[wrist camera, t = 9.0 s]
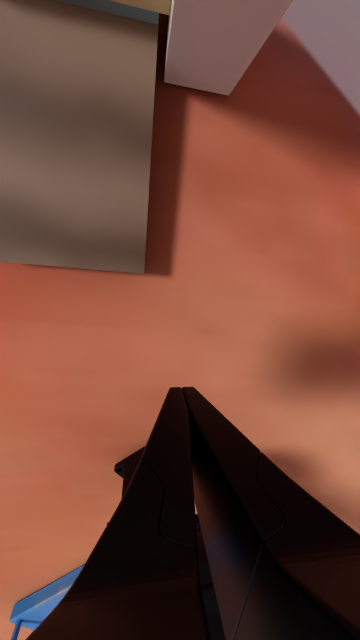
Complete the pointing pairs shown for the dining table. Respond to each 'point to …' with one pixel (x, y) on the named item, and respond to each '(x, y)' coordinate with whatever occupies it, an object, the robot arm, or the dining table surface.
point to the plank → (76, 132)
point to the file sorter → (41, 603)
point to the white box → (213, 38)
